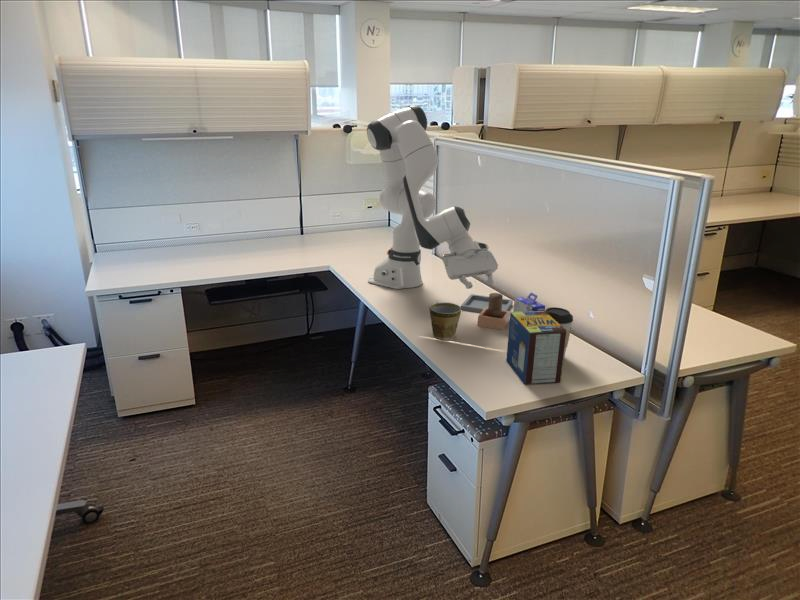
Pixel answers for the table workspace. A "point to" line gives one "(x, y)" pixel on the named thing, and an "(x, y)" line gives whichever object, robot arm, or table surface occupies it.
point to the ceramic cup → (444, 320)
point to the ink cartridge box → (527, 304)
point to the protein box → (535, 347)
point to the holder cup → (493, 319)
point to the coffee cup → (562, 321)
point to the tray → (482, 303)
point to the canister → (495, 305)
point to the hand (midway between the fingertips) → (480, 285)
